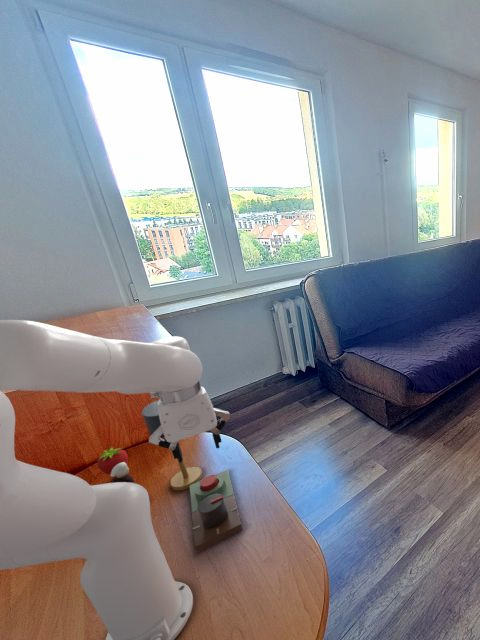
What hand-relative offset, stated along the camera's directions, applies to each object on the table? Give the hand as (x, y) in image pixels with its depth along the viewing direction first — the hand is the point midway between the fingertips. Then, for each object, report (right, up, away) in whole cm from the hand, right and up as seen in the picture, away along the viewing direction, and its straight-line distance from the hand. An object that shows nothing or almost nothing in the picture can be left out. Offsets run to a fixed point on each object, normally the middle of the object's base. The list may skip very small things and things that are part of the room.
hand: (199, 451), depth 82 cm
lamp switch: (0, -10, +4) cm, 11 cm away
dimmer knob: (+7, -14, -4) cm, 16 cm away
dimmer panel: (+7, -16, -3) cm, 18 cm away
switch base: (0, -13, +5) cm, 14 cm away
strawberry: (-29, -11, +10) cm, 33 cm away
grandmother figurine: (-18, -14, +2) cm, 23 cm away
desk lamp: (-9, -11, +9) cm, 17 cm away
